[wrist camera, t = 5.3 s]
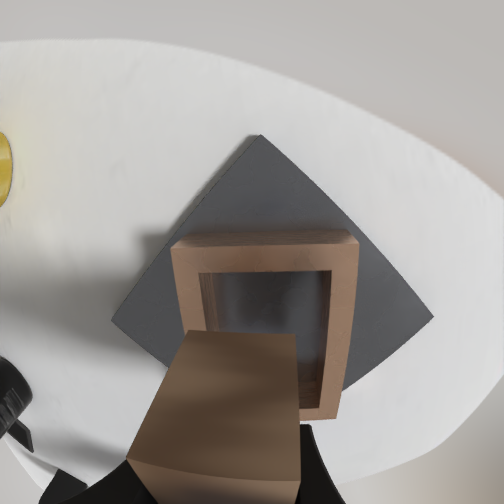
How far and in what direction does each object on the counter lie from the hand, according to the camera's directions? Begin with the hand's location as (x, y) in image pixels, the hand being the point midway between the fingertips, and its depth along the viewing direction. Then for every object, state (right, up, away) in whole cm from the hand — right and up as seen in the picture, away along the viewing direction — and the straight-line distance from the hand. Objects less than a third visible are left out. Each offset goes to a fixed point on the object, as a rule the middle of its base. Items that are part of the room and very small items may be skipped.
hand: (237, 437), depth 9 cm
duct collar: (+2, +3, +8) cm, 8 cm away
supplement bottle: (-29, -9, +15) cm, 33 cm away
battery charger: (-33, -36, +24) cm, 54 cm away
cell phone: (-41, -25, +22) cm, 53 cm away
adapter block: (0, +1, +2) cm, 2 cm away
